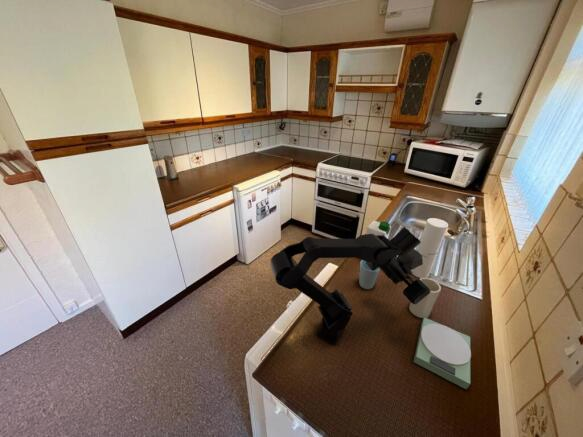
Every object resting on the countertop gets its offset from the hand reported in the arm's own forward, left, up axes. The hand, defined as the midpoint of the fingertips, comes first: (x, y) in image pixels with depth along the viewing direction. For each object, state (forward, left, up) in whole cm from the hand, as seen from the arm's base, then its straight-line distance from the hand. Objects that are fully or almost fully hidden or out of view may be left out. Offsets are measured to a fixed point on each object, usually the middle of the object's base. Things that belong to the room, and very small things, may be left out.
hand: (409, 285), depth 78 cm
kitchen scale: (-8, -13, -13) cm, 20 cm away
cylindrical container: (+27, -2, -14) cm, 30 cm away
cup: (+7, +15, -14) cm, 21 cm away
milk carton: (+24, +18, -14) cm, 33 cm away
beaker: (+5, -5, -13) cm, 15 cm away
